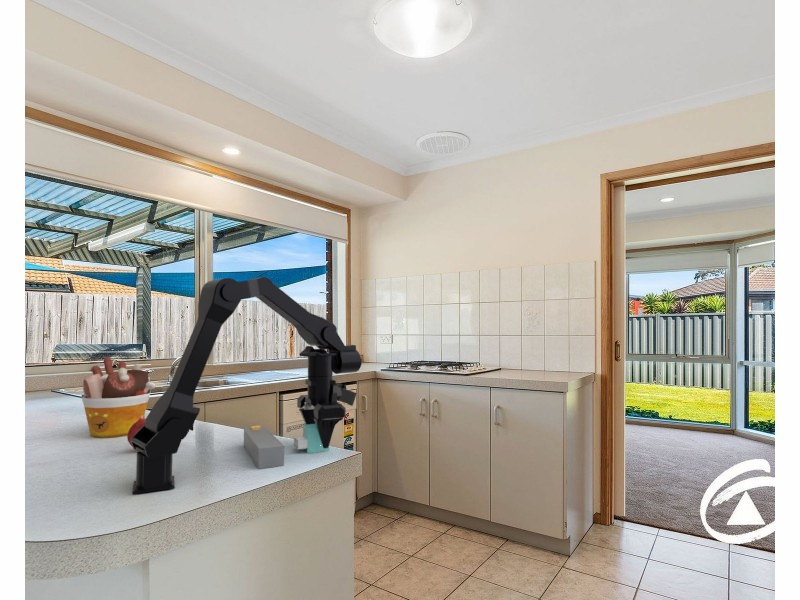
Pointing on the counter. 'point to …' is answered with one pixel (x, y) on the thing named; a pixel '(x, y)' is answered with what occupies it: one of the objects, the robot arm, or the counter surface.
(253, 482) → the counter surface
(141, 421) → the onion
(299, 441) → the block
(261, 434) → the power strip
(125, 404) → the bucket of meat
